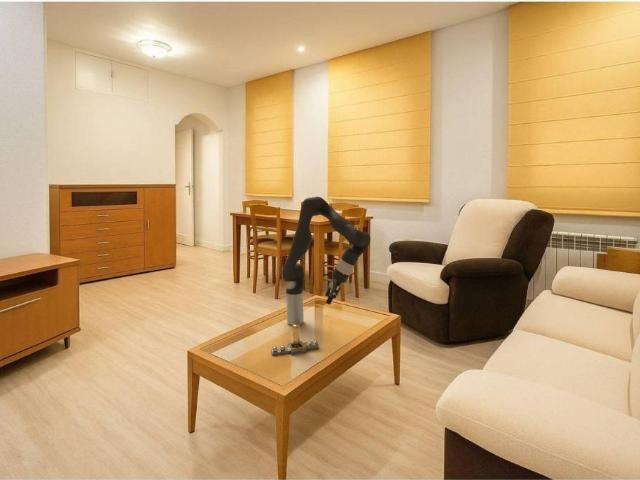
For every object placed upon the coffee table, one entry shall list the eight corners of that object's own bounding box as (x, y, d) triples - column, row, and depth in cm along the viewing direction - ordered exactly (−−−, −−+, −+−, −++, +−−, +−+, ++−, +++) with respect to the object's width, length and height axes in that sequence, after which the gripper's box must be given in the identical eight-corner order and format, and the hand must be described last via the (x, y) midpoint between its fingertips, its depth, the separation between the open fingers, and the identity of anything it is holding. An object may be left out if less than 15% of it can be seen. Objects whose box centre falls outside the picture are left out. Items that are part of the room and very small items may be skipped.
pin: (292, 349, 179) (291, 324, 177) (299, 348, 180) (298, 323, 178) (294, 352, 176) (293, 326, 174) (300, 351, 177) (300, 325, 175)
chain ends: (270, 350, 178) (270, 344, 178) (316, 344, 184) (316, 338, 184) (273, 357, 171) (273, 350, 170) (320, 350, 177) (320, 344, 176)
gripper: (334, 261, 182) (319, 290, 186) (337, 272, 169) (320, 303, 172) (348, 268, 183) (333, 296, 187) (352, 279, 170) (335, 309, 173)
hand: (327, 299), depth 179 cm, fingers open, 8 cm apart
